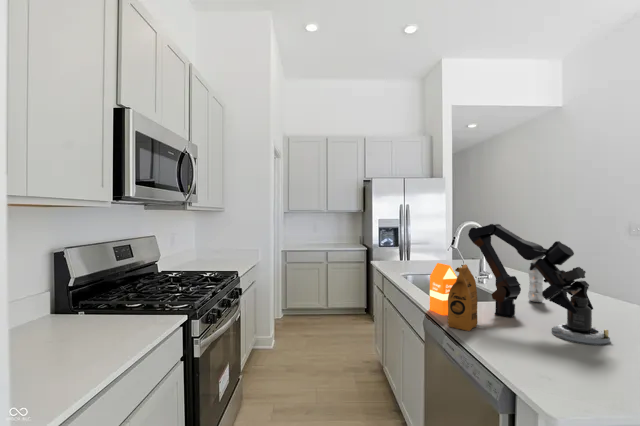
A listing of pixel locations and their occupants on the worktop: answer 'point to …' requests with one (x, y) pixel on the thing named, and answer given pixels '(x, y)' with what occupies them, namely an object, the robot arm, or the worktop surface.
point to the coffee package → (463, 301)
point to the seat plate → (581, 335)
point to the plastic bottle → (535, 285)
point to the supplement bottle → (580, 316)
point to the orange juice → (441, 287)
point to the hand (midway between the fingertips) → (584, 311)
